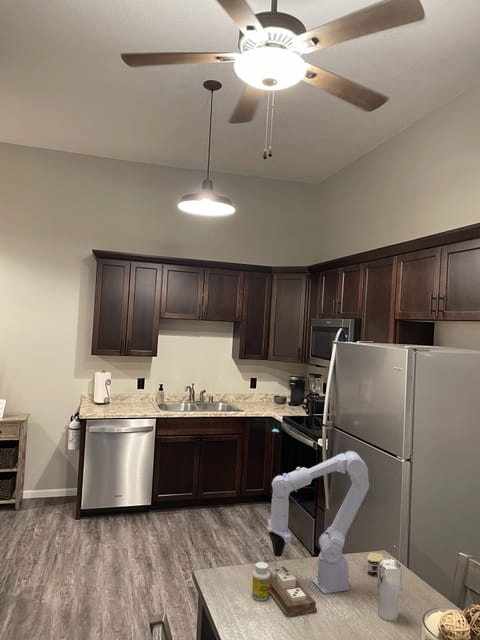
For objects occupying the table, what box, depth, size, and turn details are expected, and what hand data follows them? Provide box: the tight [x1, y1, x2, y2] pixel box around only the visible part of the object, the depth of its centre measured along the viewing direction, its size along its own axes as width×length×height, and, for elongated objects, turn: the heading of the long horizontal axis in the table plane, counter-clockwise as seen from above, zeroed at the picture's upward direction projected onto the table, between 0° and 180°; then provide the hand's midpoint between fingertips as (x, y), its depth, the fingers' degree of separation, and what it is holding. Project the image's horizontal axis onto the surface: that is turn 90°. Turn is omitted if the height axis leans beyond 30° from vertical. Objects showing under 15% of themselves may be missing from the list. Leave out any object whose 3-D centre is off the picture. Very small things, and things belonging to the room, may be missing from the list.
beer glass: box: [376, 558, 403, 622], centre depth 138 cm, size 7×7×15 cm
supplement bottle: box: [251, 561, 270, 601], centre depth 145 cm, size 5×5×10 cm
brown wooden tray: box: [269, 566, 318, 618], centre depth 147 cm, size 10×22×3 cm, turn 20°
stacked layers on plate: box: [366, 552, 385, 576], centre depth 164 cm, size 10×9×6 cm
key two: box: [277, 571, 297, 590], centre depth 147 cm, size 4×4×3 cm
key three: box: [286, 588, 306, 602], centre depth 140 cm, size 4×4×3 cm
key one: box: [268, 565, 286, 579], centre depth 153 cm, size 4×4×3 cm
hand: (277, 555), depth 154 cm, fingers closed
